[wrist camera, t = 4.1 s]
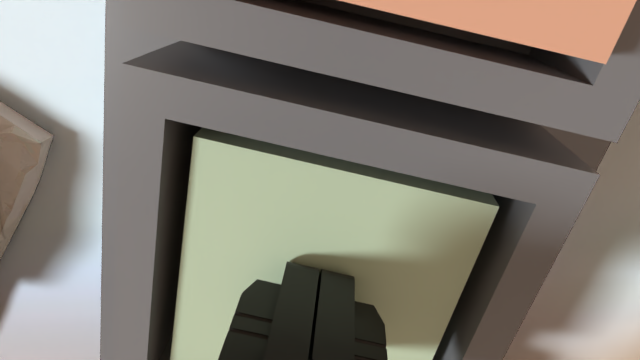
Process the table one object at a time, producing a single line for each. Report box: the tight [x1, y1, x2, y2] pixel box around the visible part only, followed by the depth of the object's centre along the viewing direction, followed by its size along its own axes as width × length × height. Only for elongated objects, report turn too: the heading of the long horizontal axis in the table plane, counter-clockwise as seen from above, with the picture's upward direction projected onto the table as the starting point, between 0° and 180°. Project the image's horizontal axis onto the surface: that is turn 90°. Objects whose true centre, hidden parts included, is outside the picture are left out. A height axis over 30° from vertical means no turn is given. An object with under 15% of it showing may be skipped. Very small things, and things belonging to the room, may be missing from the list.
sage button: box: [170, 127, 499, 360], centre depth 11 cm, size 6×6×2 cm
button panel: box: [100, 0, 640, 360], centre depth 12 cm, size 28×12×5 cm, turn 168°
